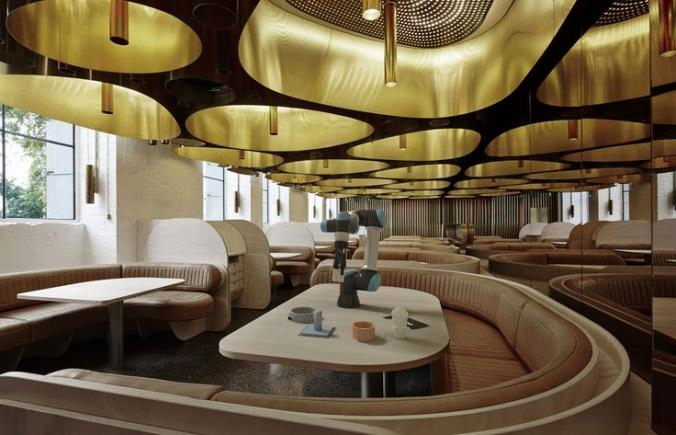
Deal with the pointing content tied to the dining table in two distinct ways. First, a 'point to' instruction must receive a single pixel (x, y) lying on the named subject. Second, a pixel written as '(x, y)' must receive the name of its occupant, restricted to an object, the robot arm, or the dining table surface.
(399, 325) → the soft serve ice cream cone
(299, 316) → the dog bowl
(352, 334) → the bowl
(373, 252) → the robot arm
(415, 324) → the black flat irregular plate
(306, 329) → the lid
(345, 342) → the dining table surface
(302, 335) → the mat
